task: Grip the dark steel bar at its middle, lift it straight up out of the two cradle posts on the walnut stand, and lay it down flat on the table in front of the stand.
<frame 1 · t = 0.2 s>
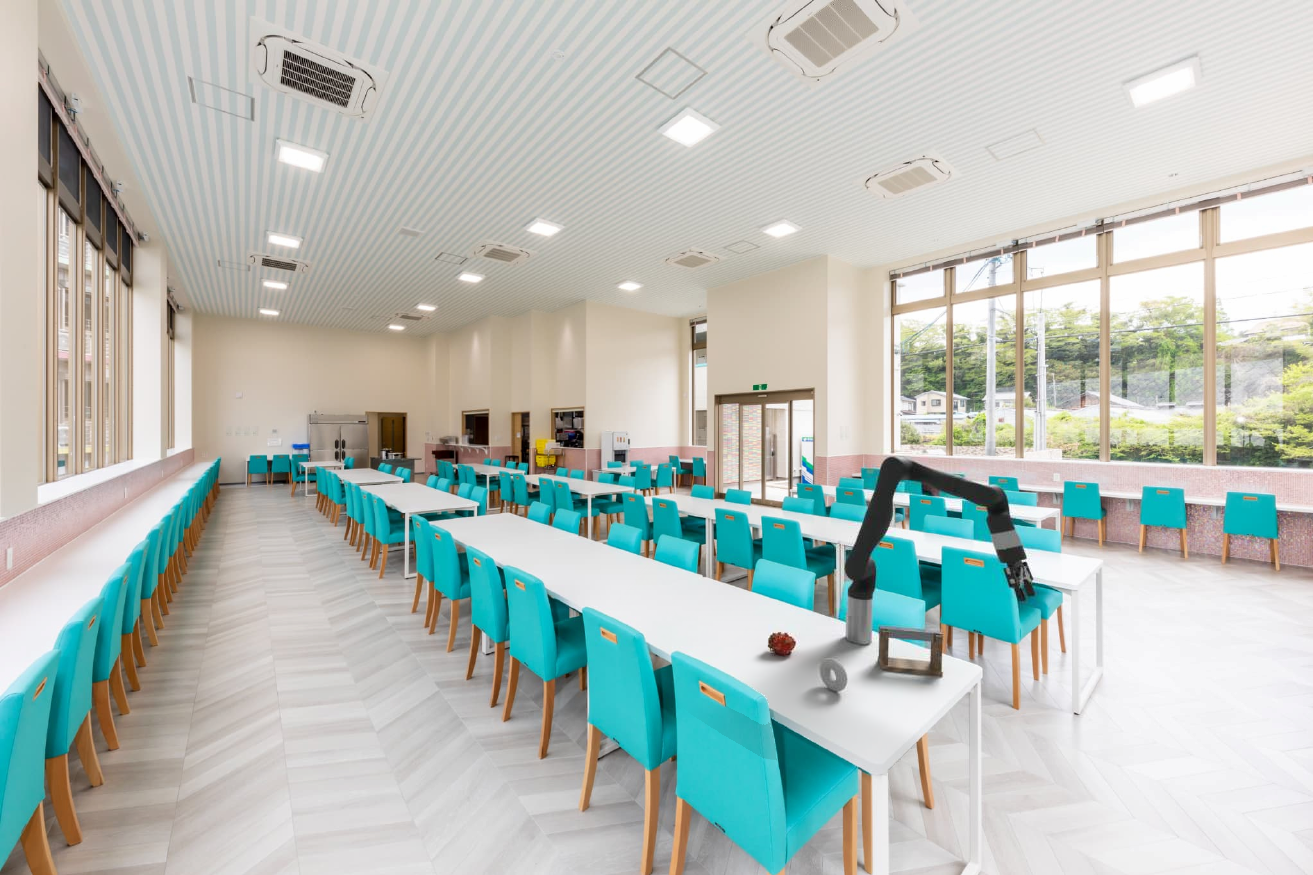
hand: (1027, 598, 165), 31 cm above the table, tool tilted 20°, fingers open, 8 cm apart
steel bar: (910, 638, 186), point 10 cm above the table, touching walnut stand
walnut stand: (909, 668, 186), on the table
red bumpy oval lump: (781, 653, 196), on the table
donut: (832, 690, 169), on the table
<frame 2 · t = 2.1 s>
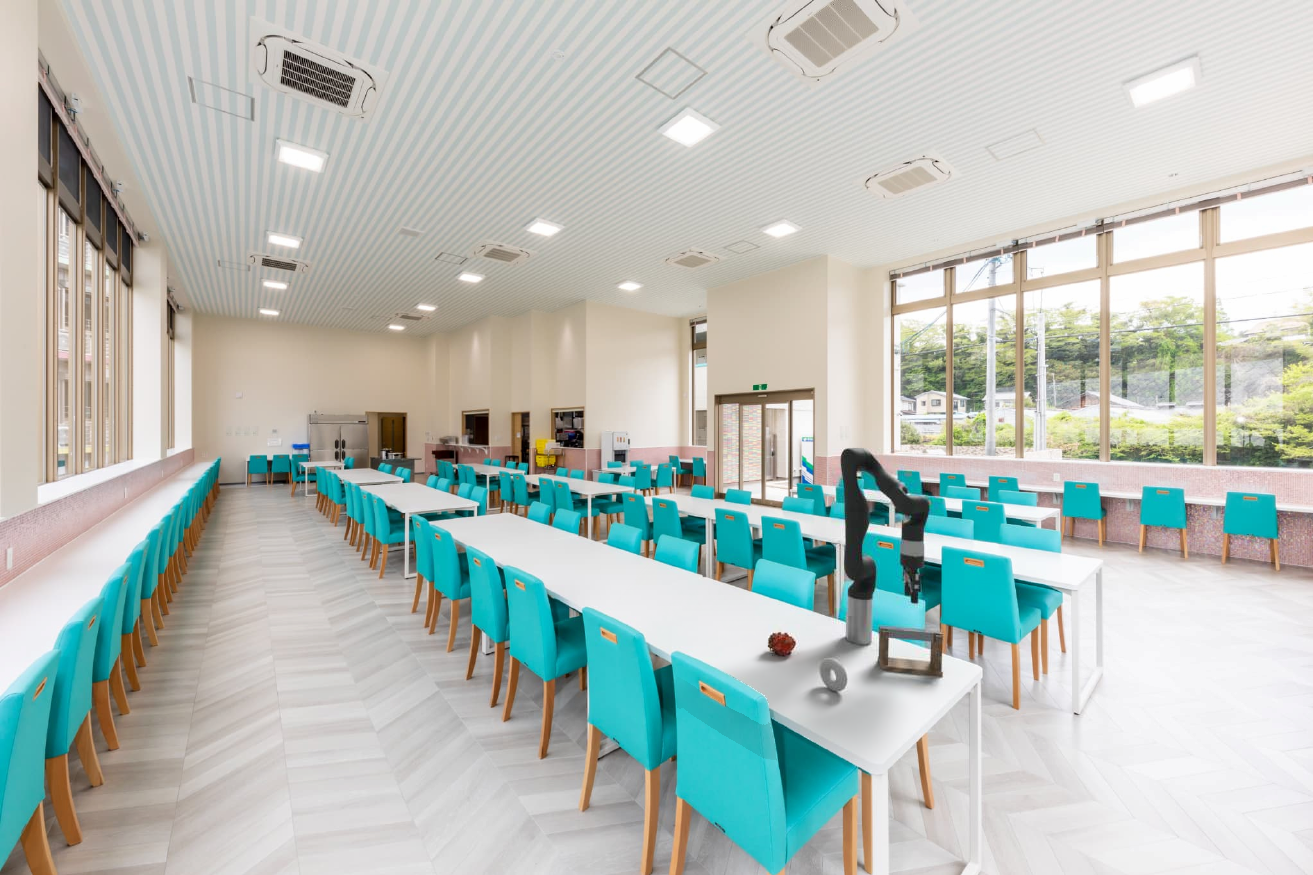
hand: (911, 599, 185), 24 cm above the table, tool pointing down, fingers open, 8 cm apart
nothing on the table moved.
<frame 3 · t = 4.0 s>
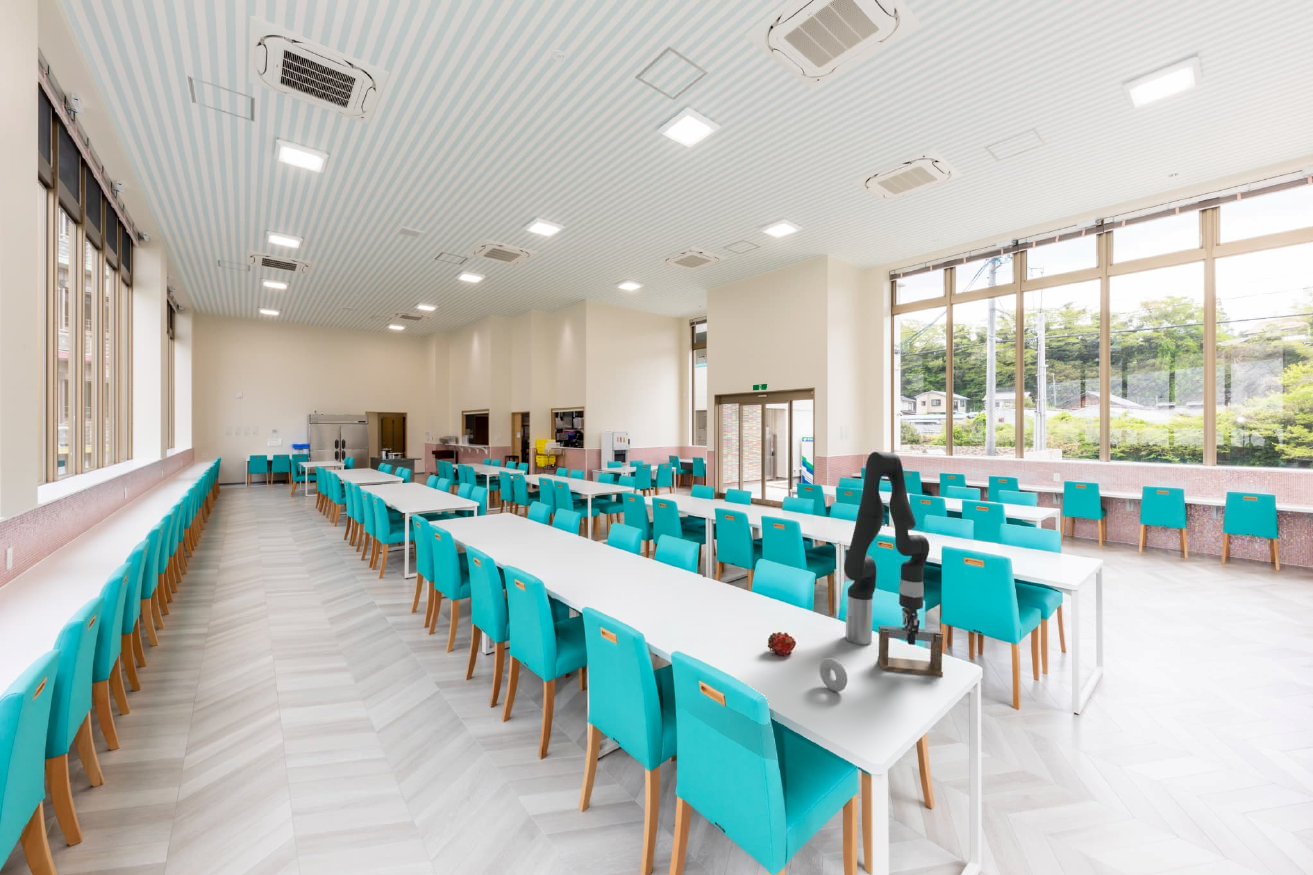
hand: (909, 642, 186), 9 cm above the table, tool pointing down, fingers closed on steel bar, 3 cm apart
steel bar: (910, 638, 186), point 11 cm above the table, touching gripper, walnut stand
everything else where it was.
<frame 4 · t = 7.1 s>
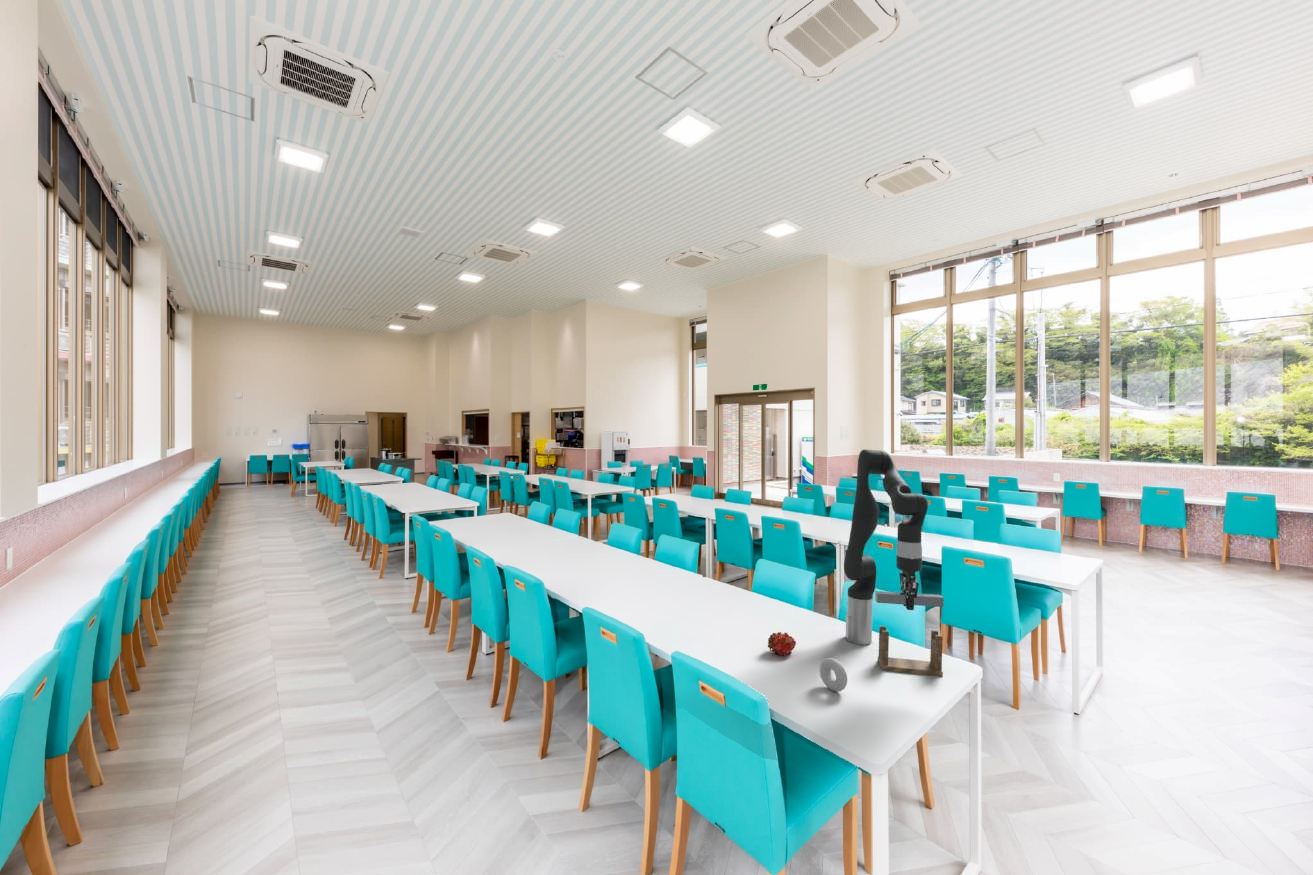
hand: (908, 607, 174), 25 cm above the table, tool pointing down, fingers closed on steel bar, 3 cm apart
steel bar: (908, 603, 174), point 26 cm above the table, touching gripper
everything else where it was.
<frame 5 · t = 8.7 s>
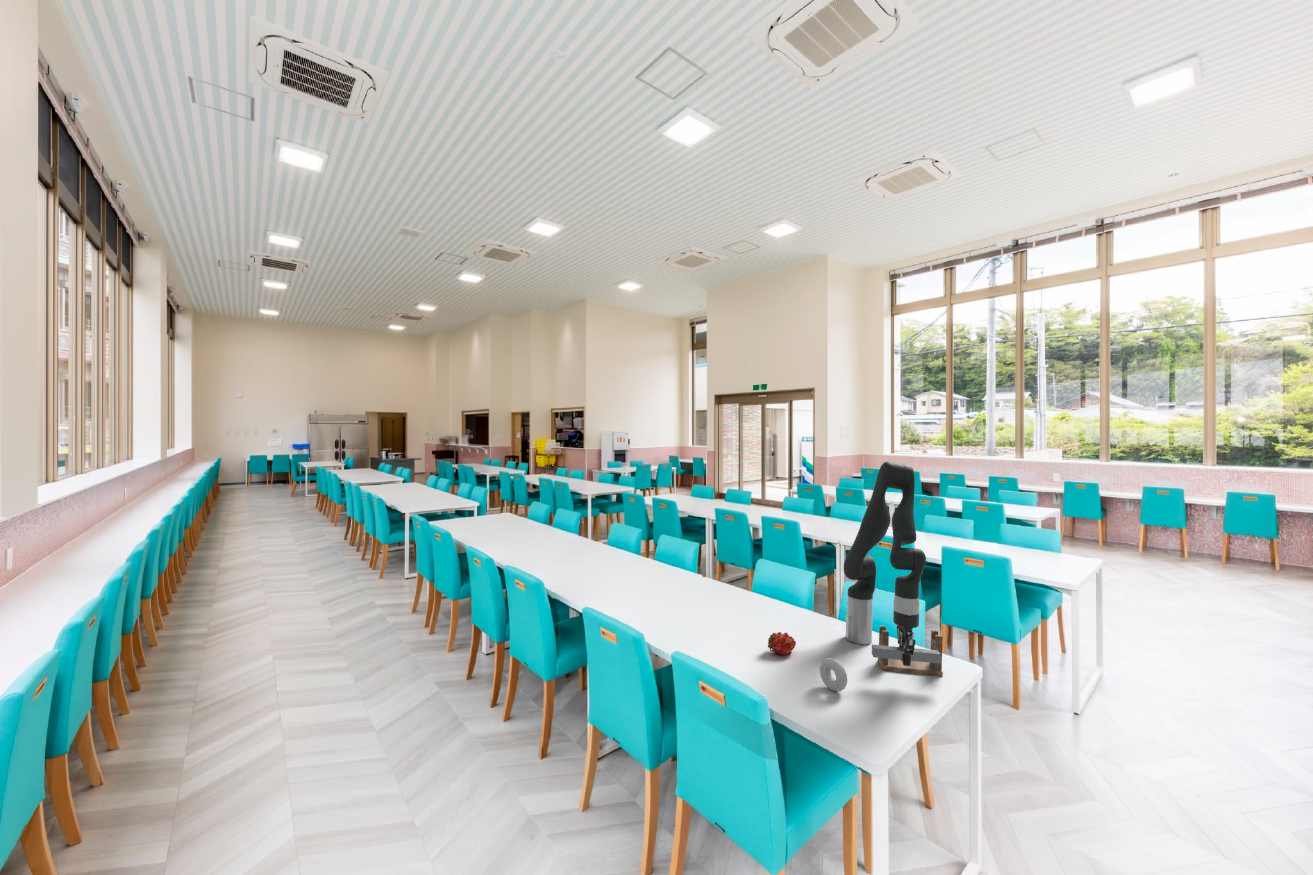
hand: (905, 662, 173), 7 cm above the table, tool pointing down, fingers closed on steel bar, 3 cm apart
steel bar: (905, 658, 173), point 9 cm above the table, touching gripper
everything else where it was.
when the fingers open (1 cm above the table, at t = 10.1 s): steel bar drops 3 cm, on the table.
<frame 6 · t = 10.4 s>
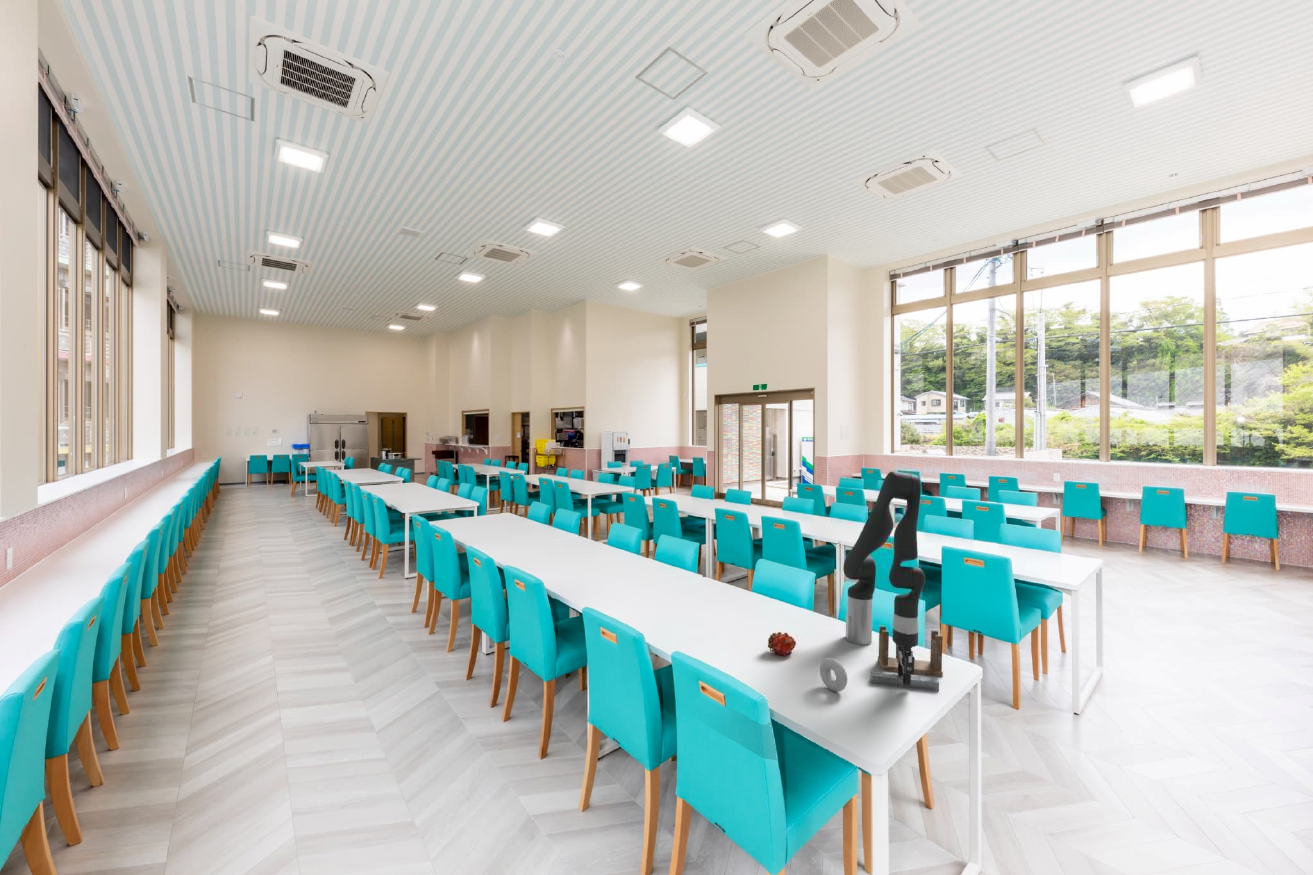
hand: (904, 679, 173), 2 cm above the table, tool pointing down, fingers open, 6 cm apart
steel bar: (903, 686, 173), on the table
everything else where it was.
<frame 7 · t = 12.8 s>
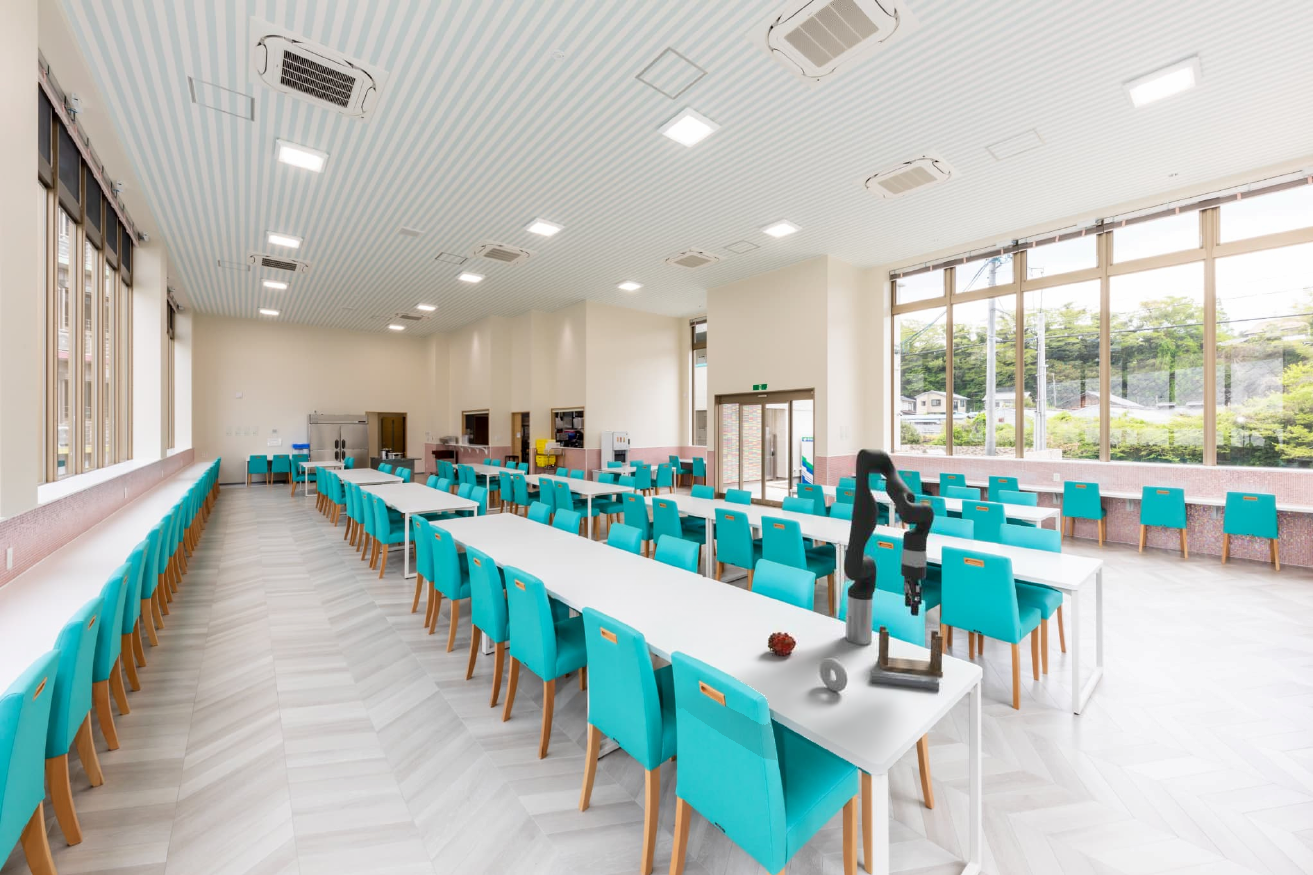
hand: (911, 610, 179), 22 cm above the table, tool pointing down, fingers open, 8 cm apart
nothing on the table moved.
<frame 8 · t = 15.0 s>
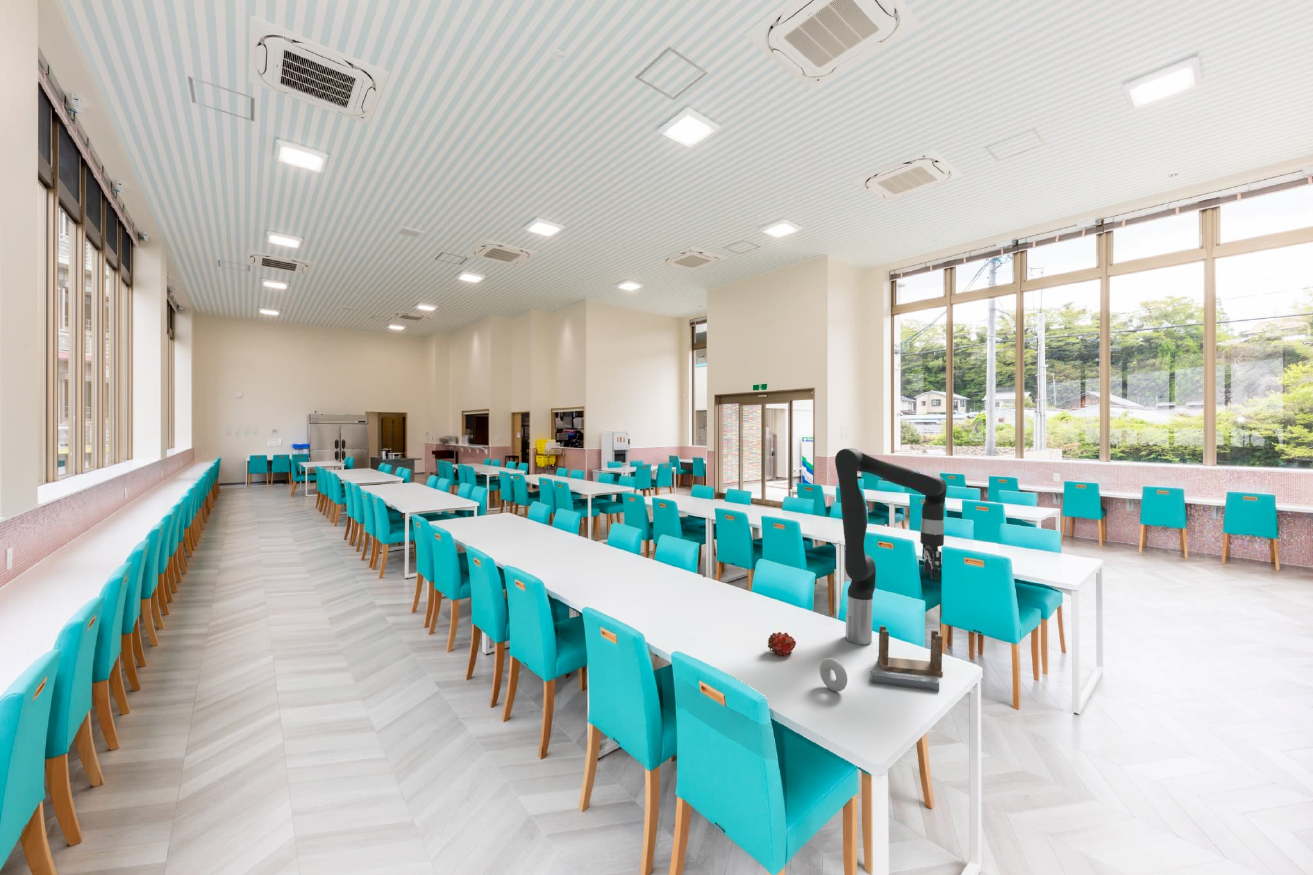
hand: (931, 576, 193), 30 cm above the table, tool pointing down, fingers open, 8 cm apart
nothing on the table moved.
at the end: steel bar inside the target area (0.2 cm from its centre), on the table; steel bar touching table; the gripper is holding nothing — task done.
